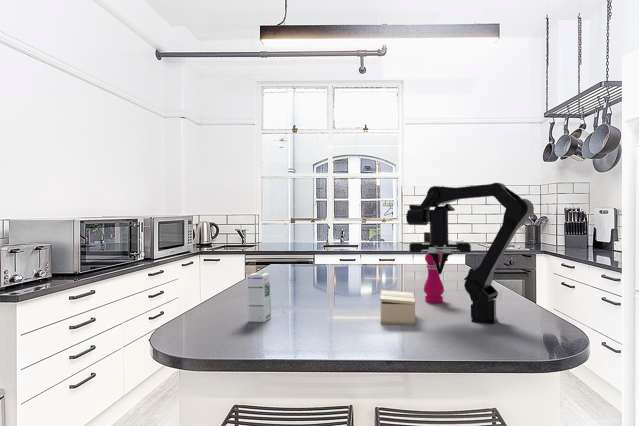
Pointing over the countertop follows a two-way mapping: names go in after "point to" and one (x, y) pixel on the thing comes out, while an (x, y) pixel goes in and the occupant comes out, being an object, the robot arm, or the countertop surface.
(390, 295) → the lid
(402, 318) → the carton
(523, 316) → the countertop surface
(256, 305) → the syrup box
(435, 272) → the pepper mill
